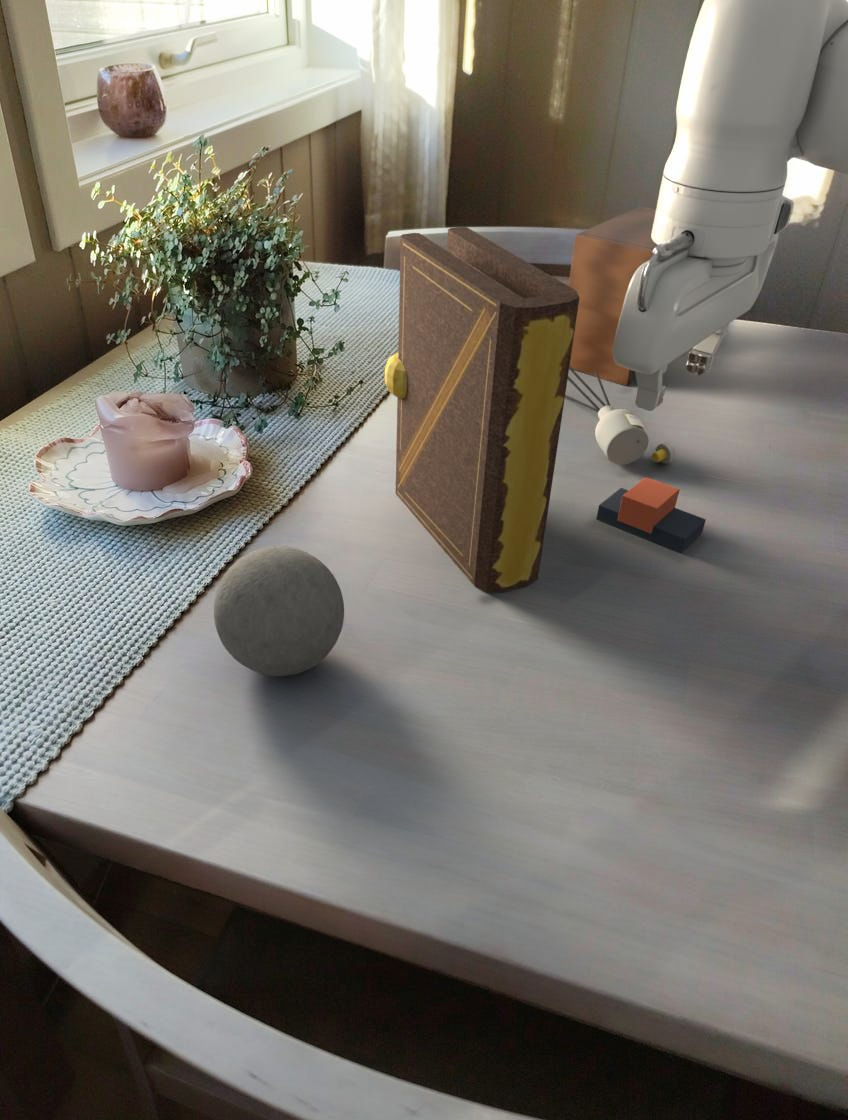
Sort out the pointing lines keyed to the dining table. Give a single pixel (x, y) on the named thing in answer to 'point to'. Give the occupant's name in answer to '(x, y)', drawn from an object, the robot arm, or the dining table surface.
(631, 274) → the rack
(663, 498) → the cube on dark base
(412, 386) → the book
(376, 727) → the dining table surface
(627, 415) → the reed diffuser
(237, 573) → the decorative ball
